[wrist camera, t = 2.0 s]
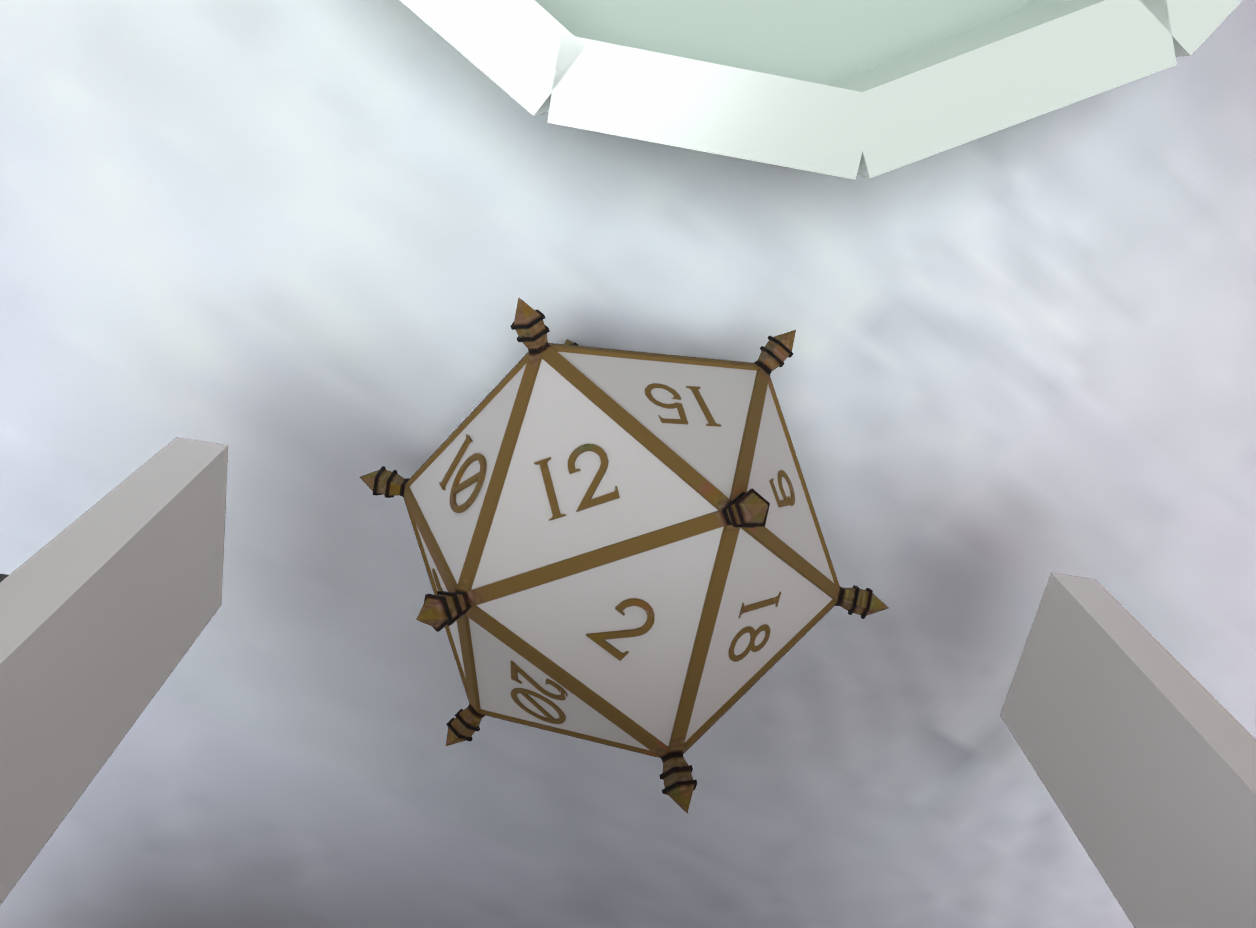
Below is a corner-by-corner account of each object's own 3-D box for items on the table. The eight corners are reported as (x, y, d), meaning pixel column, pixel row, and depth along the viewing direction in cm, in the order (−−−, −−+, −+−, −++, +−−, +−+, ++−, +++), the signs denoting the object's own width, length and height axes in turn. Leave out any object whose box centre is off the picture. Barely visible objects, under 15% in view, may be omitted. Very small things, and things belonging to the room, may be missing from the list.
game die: (664, 470, 26) (780, 865, 21) (326, 456, 23) (359, 929, 17) (842, 204, 20) (1079, 674, 14) (409, 124, 16) (506, 713, 11)
